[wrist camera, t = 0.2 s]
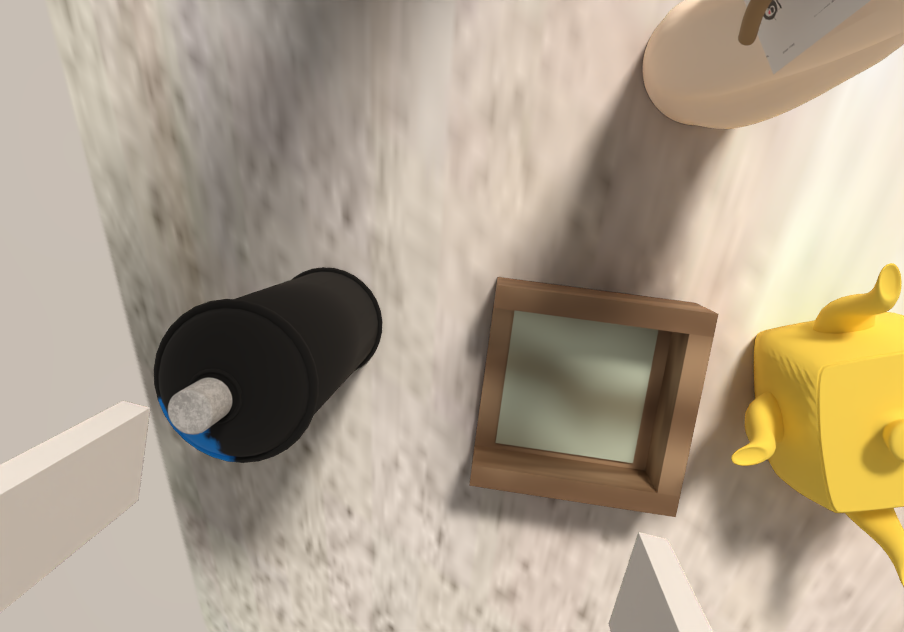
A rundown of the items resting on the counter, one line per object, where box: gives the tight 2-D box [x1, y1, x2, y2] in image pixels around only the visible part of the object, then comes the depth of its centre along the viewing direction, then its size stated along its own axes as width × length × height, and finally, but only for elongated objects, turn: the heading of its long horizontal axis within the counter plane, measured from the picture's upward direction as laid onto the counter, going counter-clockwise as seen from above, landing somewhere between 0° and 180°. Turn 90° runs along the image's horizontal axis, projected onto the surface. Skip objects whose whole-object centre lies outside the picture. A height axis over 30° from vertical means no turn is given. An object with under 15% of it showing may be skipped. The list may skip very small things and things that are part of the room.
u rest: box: [469, 277, 718, 517], centre depth 41 cm, size 14×14×4 cm
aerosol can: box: [154, 267, 382, 463], centre depth 34 cm, size 8×8×20 cm
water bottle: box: [643, 0, 904, 129], centre depth 25 cm, size 10×9×28 cm
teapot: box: [731, 263, 904, 587], centre depth 37 cm, size 15×14×10 cm
